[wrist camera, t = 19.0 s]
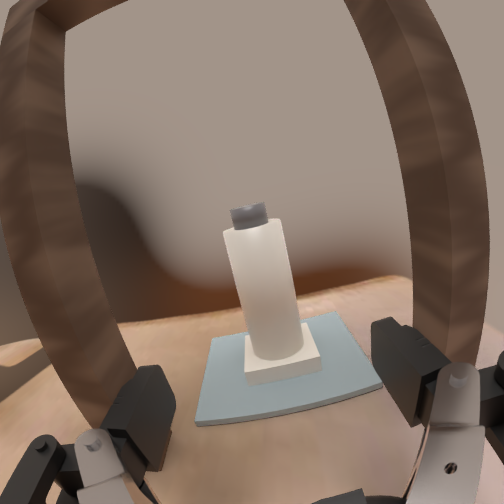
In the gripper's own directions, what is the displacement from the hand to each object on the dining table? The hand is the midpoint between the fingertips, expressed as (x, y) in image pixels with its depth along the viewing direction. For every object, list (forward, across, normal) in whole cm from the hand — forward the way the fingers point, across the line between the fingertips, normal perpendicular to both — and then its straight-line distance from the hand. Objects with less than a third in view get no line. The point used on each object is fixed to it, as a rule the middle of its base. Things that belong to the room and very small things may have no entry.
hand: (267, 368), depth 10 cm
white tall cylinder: (+12, 0, +8) cm, 15 cm away
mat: (+13, 0, +9) cm, 16 cm away
